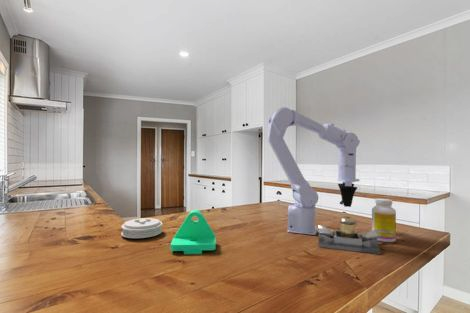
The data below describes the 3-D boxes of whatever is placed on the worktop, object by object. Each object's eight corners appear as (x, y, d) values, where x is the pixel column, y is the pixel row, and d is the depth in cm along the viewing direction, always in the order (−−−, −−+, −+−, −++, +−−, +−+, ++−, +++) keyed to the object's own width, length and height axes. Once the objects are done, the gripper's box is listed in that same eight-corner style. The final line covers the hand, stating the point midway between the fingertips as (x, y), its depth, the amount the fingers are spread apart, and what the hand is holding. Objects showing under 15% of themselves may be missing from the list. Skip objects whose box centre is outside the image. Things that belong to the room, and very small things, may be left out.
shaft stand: (315, 246, 74) (315, 228, 74) (316, 236, 83) (316, 220, 83) (383, 254, 68) (383, 234, 68) (376, 243, 77) (376, 225, 77)
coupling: (340, 242, 74) (340, 219, 74) (339, 238, 78) (339, 216, 78) (356, 244, 73) (356, 220, 73) (354, 240, 77) (354, 217, 77)
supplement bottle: (399, 243, 77) (399, 201, 77) (375, 242, 79) (376, 200, 79) (390, 237, 84) (390, 198, 84) (368, 235, 85) (369, 197, 85)
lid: (123, 231, 88) (123, 216, 88) (161, 228, 92) (161, 214, 92) (118, 243, 76) (119, 226, 76) (162, 239, 79) (163, 223, 80)
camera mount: (169, 255, 67) (170, 215, 67) (174, 245, 74) (174, 210, 74) (215, 254, 68) (216, 215, 68) (215, 244, 75) (215, 209, 75)
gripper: (362, 167, 82) (361, 209, 82) (356, 166, 96) (356, 202, 96) (338, 166, 85) (338, 207, 85) (336, 165, 98) (336, 200, 98)
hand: (346, 204), depth 90 cm, fingers open, 7 cm apart
